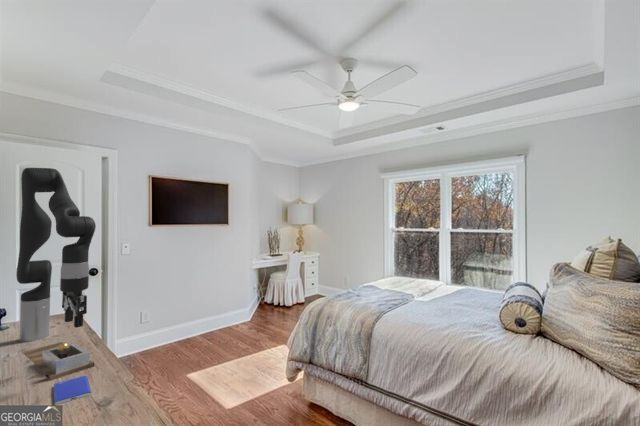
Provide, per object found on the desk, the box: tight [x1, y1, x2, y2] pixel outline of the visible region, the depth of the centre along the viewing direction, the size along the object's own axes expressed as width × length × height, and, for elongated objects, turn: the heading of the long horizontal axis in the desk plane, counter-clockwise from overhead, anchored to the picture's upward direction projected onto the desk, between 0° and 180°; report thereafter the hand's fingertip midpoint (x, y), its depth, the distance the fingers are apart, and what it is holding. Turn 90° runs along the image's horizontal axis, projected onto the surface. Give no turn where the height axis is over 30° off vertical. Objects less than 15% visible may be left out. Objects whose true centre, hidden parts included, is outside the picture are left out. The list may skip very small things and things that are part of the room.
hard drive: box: [53, 375, 92, 406], centre depth 94 cm, size 2×8×12 cm
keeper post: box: [57, 342, 69, 359], centre depth 110 cm, size 3×3×6 cm
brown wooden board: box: [22, 341, 95, 381], centre depth 114 cm, size 32×12×1 cm, turn 55°
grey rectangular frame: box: [42, 342, 90, 374], centre depth 109 cm, size 14×9×4 cm, turn 55°
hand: (73, 324), depth 106 cm, fingers open, 8 cm apart
